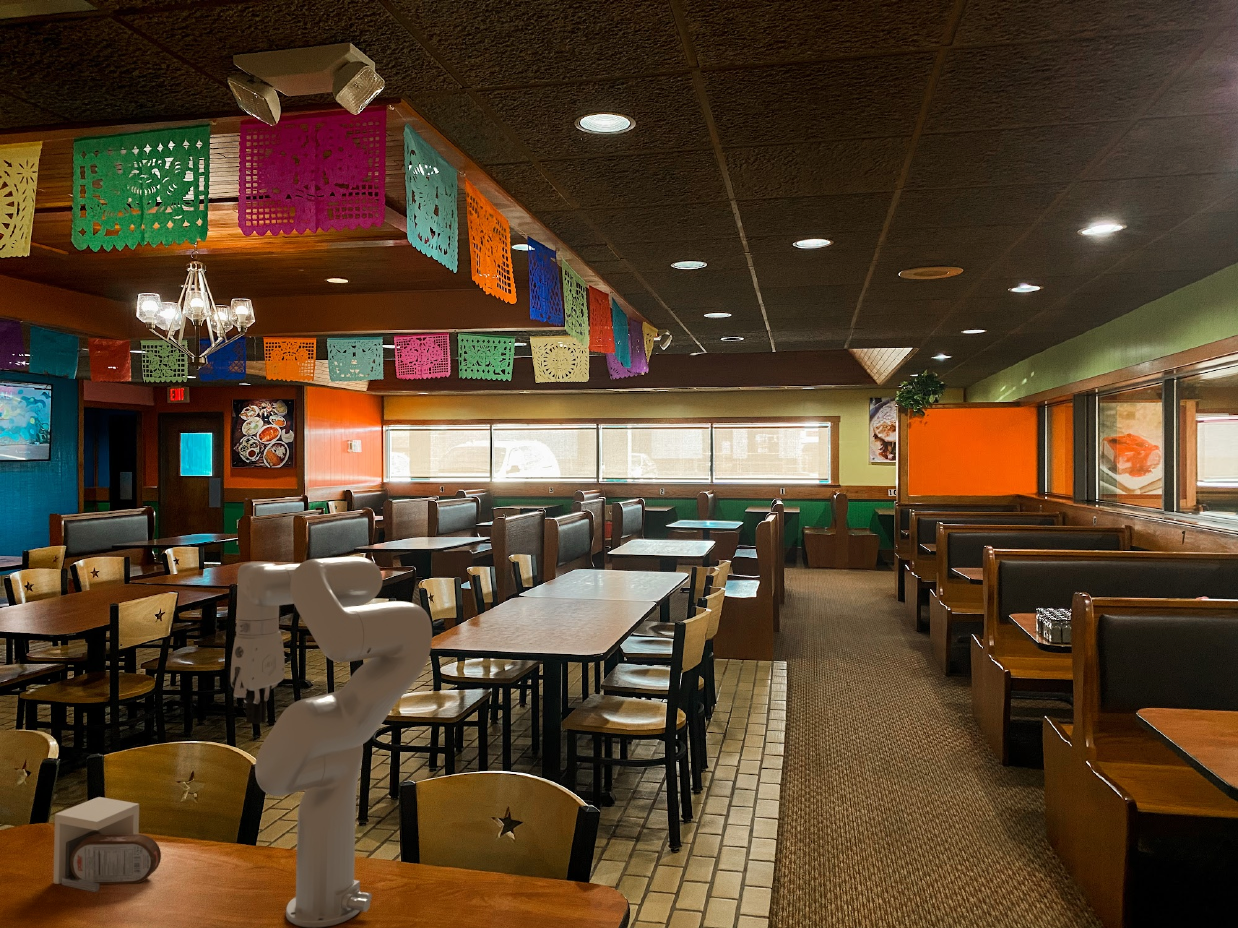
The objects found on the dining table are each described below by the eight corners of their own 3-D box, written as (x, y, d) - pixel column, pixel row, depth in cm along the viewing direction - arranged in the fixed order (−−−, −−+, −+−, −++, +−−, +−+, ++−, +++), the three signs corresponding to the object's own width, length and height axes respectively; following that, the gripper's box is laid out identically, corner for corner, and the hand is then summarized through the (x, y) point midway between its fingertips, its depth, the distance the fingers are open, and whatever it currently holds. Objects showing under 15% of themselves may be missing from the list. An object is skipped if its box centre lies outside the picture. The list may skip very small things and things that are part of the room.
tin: (161, 877, 161) (162, 831, 161) (153, 885, 158) (154, 838, 158) (76, 878, 160) (77, 833, 160) (66, 887, 156) (67, 840, 157)
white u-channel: (137, 870, 163) (139, 803, 163) (95, 891, 155) (96, 821, 155) (97, 861, 166) (98, 796, 167) (53, 882, 158) (55, 813, 158)
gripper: (245, 635, 159) (243, 735, 159) (299, 622, 173) (297, 714, 173) (212, 632, 161) (210, 731, 161) (268, 619, 176) (267, 710, 175)
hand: (255, 722), depth 167 cm, fingers closed
